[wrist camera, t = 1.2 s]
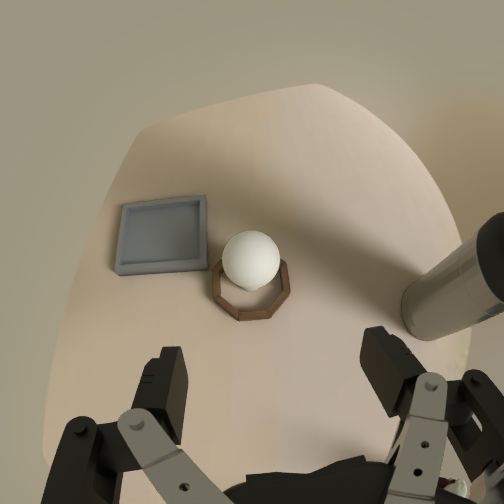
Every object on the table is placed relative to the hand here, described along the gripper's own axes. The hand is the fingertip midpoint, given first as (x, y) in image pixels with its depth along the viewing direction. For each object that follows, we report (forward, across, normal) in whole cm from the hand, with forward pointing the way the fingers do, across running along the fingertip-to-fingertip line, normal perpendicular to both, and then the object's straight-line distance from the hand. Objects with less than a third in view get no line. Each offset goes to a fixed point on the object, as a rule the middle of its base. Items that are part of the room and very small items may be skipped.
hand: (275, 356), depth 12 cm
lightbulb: (+25, 0, +8) cm, 27 cm away
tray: (+31, +12, +3) cm, 33 cm away
